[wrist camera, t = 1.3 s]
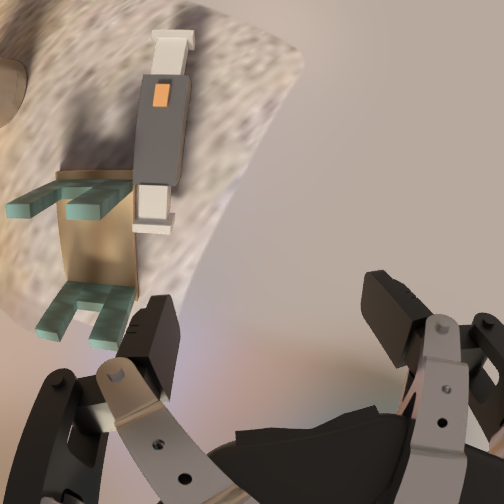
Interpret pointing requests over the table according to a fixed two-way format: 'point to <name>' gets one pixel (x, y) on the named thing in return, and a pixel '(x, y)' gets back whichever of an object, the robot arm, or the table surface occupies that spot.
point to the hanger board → (90, 250)
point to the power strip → (161, 130)
